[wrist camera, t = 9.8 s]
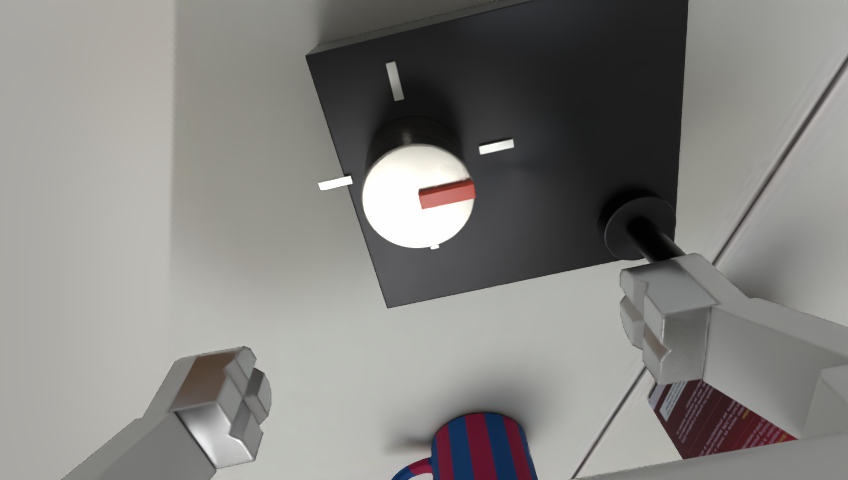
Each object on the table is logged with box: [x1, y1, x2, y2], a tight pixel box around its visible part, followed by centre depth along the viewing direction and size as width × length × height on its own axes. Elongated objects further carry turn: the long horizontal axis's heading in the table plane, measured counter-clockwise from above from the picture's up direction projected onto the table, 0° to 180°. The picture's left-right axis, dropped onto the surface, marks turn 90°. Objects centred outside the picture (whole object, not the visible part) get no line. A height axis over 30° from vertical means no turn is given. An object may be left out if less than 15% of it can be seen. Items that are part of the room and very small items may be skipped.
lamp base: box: [306, 0, 689, 308], centre depth 21 cm, size 15×12×3 cm
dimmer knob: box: [361, 117, 476, 248], centre depth 18 cm, size 4×4×4 cm
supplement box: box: [649, 379, 798, 460], centre depth 23 cm, size 9×5×16 cm, turn 172°
